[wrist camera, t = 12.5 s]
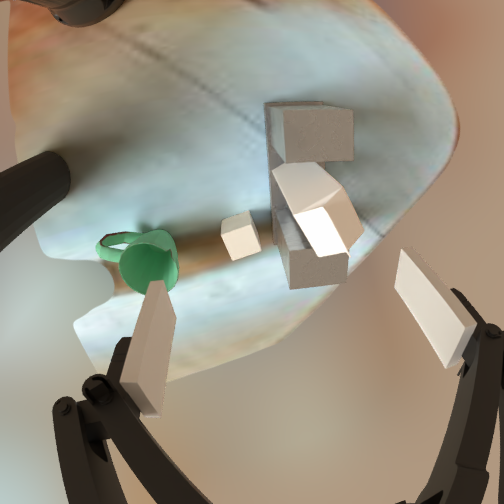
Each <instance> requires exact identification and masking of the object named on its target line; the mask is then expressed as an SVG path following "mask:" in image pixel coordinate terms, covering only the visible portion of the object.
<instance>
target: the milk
mask: <svg viewBox="0 0 504 504" xmlns="http://www.w3.org/2000/svg"><path fill="white" fill-rule="evenodd" d="M272 173H273V175H274V177H275V179H276V181H277V183H278V185H279V187H280V189H281V191H282V193H283V195H284V197H285V199H286V201H287V203H288V206H289V208H290V210H291V212H292V214H293V216H294V218H295V219H296V221H297V223H298V224H299V226H300V227H301V229H302V231H303V232H304V234H305V236H306V237H307V239H308V241H309V242H310V244H311V246H312V247H313V249H314V251H315V252H316V254H317V256H318V257H323V256H328V255H333V254H339V253H344V252H347V254H348V255H349V257H350V258H351V256H350V254H349V252H348V250H349V249H350V247H351V246H352V245H353V244H354V243H355V242H356V240H357V239H358V238H359V237H360V236H361V234H362V233H363V232H364V229H363V227H362V224H361V222H360V220H359V218H358V216H357V214H356V212H355V209H354V207H353V205H352V203H351V201H350V199H349V197H348V195H347V193H346V191H345V189H344V187H343V186H342V185H341V184H340V183H339V182H338V181H337V180H336V179H334V178H333V177H332V176H331V175H330V174H329V173H328V172H327V171H325V170H324V169H323V168H322V167H321V166H320V165H318V164H317V163H316V162H305V163H288V164H286V163H283V164H282V165H280V166H278V167H277V168H275V169H273V170H272Z"/></svg>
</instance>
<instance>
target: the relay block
mask: <svg viewBox="0 0 504 504" xmlns="http://www.w3.org/2000/svg"><path fill="white" fill-rule="evenodd" d="M221 237H222V239H223V241H224V243H225V245H226V248H227V250H228V252H229V254H230V256H231V258H232V261H233V260H236V259H239V258H242V257H245V256H248V255H251V254H254V253H257V252H260V251H262V250H261V245H260V239H259V234H258V231H257V229H256V226H255V224H254V221H253V219H252V216H251V214H250V211H249V210H248V211H245V212H243V213H240V214H237V215H234V216H232V217H229V218H226V219H224V220H222V226H221Z"/></svg>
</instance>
